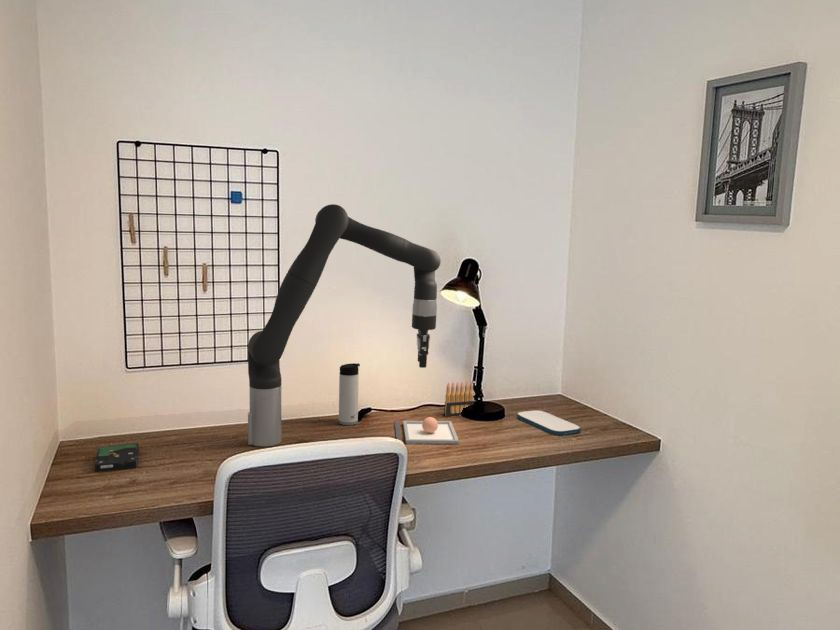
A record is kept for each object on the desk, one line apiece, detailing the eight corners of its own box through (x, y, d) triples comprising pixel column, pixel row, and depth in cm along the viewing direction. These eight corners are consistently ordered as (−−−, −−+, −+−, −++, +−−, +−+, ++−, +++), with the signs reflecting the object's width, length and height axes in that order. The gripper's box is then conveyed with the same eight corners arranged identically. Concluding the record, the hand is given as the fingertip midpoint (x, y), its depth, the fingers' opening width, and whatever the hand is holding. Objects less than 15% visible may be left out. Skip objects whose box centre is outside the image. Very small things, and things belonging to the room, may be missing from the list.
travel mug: (357, 426, 217) (358, 366, 214) (337, 425, 217) (338, 365, 215) (359, 420, 223) (360, 362, 221) (340, 419, 223) (341, 361, 221)
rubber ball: (422, 435, 209) (423, 419, 208) (421, 430, 214) (421, 414, 213) (438, 435, 209) (439, 419, 208) (436, 430, 214) (437, 415, 213)
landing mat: (397, 445, 200) (397, 441, 200) (394, 423, 221) (394, 419, 221) (459, 445, 201) (459, 441, 201) (450, 423, 223) (450, 420, 223)
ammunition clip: (445, 417, 230) (447, 383, 229) (443, 415, 232) (444, 382, 230) (473, 415, 234) (475, 381, 232) (471, 413, 236) (472, 380, 234)
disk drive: (138, 470, 175) (138, 451, 189) (138, 460, 175) (138, 442, 189) (94, 474, 172) (98, 455, 185) (94, 464, 171) (98, 445, 185)
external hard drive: (513, 418, 233) (513, 412, 233) (539, 414, 238) (539, 409, 238) (556, 438, 212) (556, 432, 212) (584, 434, 218) (584, 428, 217)
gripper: (411, 310, 214) (409, 359, 216) (413, 316, 200) (410, 368, 202) (434, 311, 214) (432, 360, 216) (438, 317, 200) (435, 369, 202)
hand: (421, 364), depth 209 cm, fingers open, 8 cm apart
